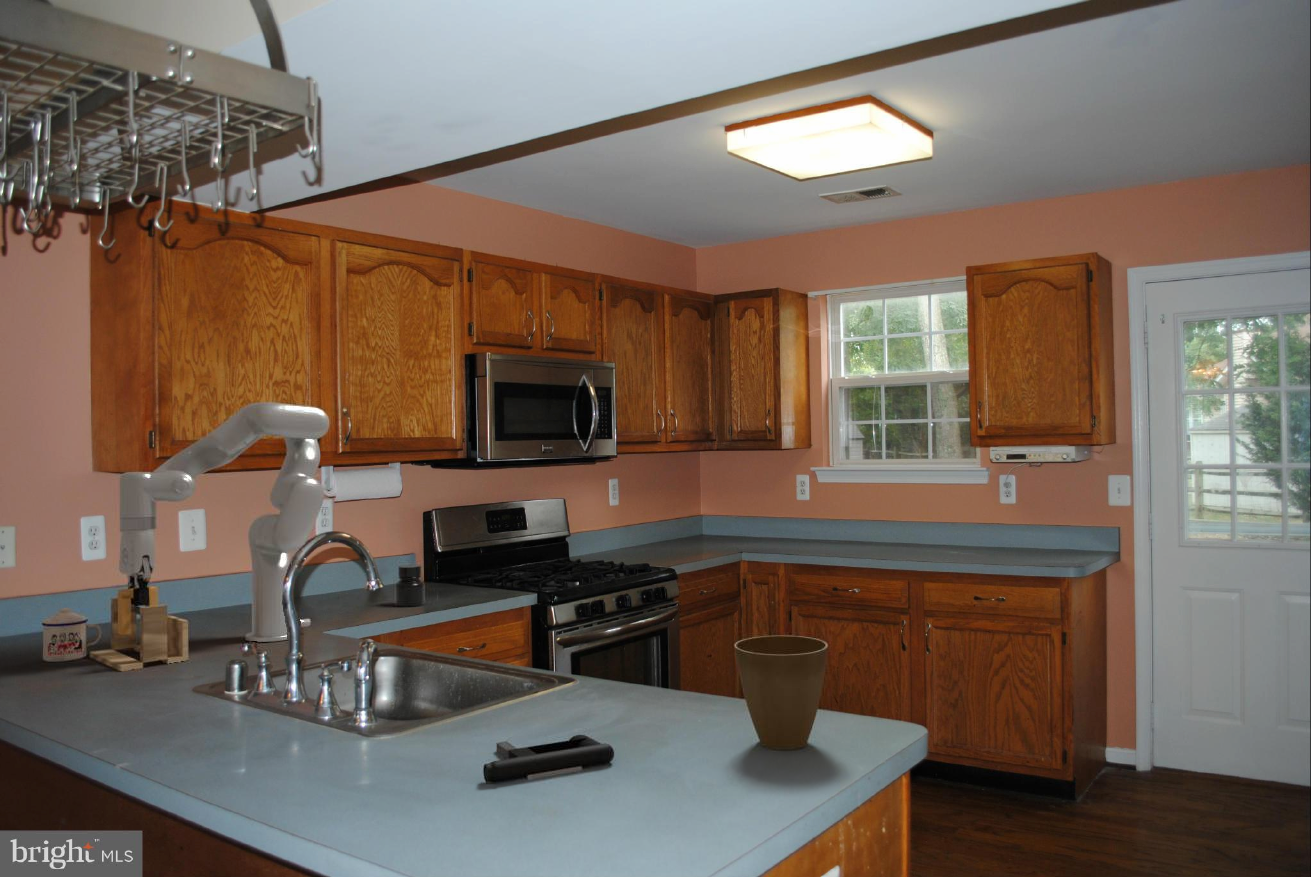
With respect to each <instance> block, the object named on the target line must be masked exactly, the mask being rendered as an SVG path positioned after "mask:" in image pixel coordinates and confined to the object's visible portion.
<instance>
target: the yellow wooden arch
mask: <svg viewBox="0 0 1311 877" xmlns="http://www.w3.org/2000/svg"><path fill="white" fill-rule="evenodd" d="M134 589H135V588H134ZM117 598H118V633H119V634H121V635H125V634H131V598H133V589H128V588H126V589H118V590H117ZM156 605H159V588H158V587H157V586H153V585H152V586H149V604H148V605H144V607H148V606H156Z"/></svg>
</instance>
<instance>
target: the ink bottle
mask: <svg viewBox="0 0 1311 877" xmlns="http://www.w3.org/2000/svg"><path fill="white" fill-rule="evenodd" d="M421 577H422V566H421V564H420V565H419V564H406V565H398V579H399V580H398V581H397V582H396V583H395V585H394V603H395V604H394V605H395V606H396V607H402V608H406V607H418V606H419V607H420V606H423V605H425V599H426V598H425V594H426V591H425V590H426V589H425V588H426V587H425V583H424V581H422V580H421Z"/></svg>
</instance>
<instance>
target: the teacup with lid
mask: <svg viewBox="0 0 1311 877" xmlns="http://www.w3.org/2000/svg"><path fill="white" fill-rule="evenodd" d="M87 622H88V617H87V616H85V615H81V614H78V613H77V612H74V611H71V608H70V607H61V608H60V609H59V612H57V613H55V614H54V615H51V617H48V618H45V619H43V620H42V622H41V626H42V632H43V633H42V643H43V644H42V660H43V661H45V662H52V663H55V662H57V663H58V662H59V663H61V662H70V661H75V660H76V661H77V660H80V659H83V658H86V656H87V647H90V646H94V645H96V644H97V643H98V642H99V641H100V639H101V637H102V635H103V630H102V628H101V626H99V625H98V624H94V623H92V624H91V623H90V624H88V623H87ZM88 628H89V629H90V628H95V629H97V631H98V634H97V637H96V638H95V639H94V640H93V641H91V642H87V640H88V638H87V637H88V636H87V632H88V631H87V629H88Z"/></svg>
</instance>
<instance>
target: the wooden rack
mask: <svg viewBox="0 0 1311 877" xmlns="http://www.w3.org/2000/svg"><path fill="white" fill-rule="evenodd" d="M137 615H139V616H140V617H139V625H140V626H139V630H140V631H139V635H140V636H139V637H140V638H139V643H140V644H137V643H138V641H137V640H138V639H137V637H138V636H137V635H138V627H137V626H138V625H137V623H138V622H137V621H138V620H137V618H138V616H137ZM130 648H133V649H134V650H135V651H134V650H133V651H134V652H136V653H139V652H140V654H139V658H140V659H139V660H140V661H139V660H137V659H136V658H132V657H131V656H128V655H126V654H124V653H121V652H119V651H117V650H124V649H130ZM89 658H91V659H93V660H96V661H98V662H99V663H102V664H104V665H106V666H107V667H111V668H113V669H115V670H117V671H119V672H121V671H122V672H127V671H128V672H129V671H133V670H132V669H134V670H140V668H141V669H144V663H149V662H156V661H159V660H161V661H163V662H162V663H164V662H166V663H167V665H170V664H169V663H172V664H175V663H174V662H178V663H182V662H181V661H185V662H187V661H186V660H188V661H189V620H187V619H184V618H181V617H178V616H174V615H171V614H168V605H167V604H158V605H156V606H148V607H145V606H143V607H141V606H134V605H133V604H131V634H125V635H121V634H119V633H118V597H112V598H110V648H108V649H100V650H95V651H90V652H89ZM161 661H160V662H161ZM166 663H165V664H166Z"/></svg>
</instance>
